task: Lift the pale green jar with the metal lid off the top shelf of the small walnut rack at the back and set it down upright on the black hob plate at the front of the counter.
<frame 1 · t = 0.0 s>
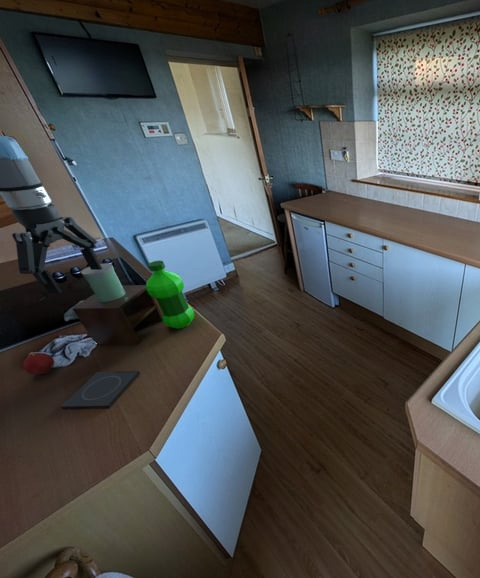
hand: (77, 280, 84), 26 cm above the worktop, tool pointing down, fingers open, 13 cm apart
packaged food: (91, 314, 113), on the worktop
red rounded lump: (46, 373, 87), on the worktop
shelf rack: (132, 331, 104), on the worktop
hob: (103, 390, 82), on the worktop
plastic bottle: (182, 324, 108), on the worktop
jar: (112, 296, 96), point 15 cm above the worktop, touching shelf rack
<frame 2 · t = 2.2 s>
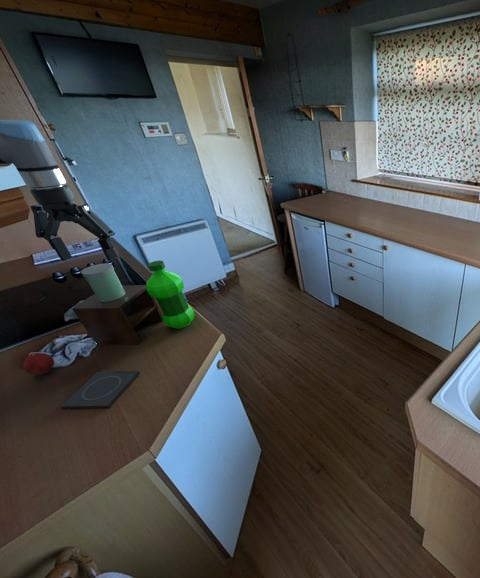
hand: (90, 258, 89), 29 cm above the worktop, tool pointing down, fingers open, 13 cm apart
nothing on the worktop moved.
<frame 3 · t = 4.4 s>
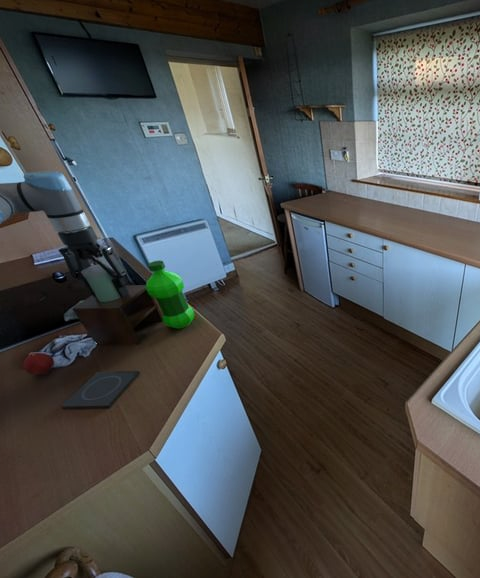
hand: (111, 295, 96), 15 cm above the worktop, tool pointing down, fingers closed on shelf rack, 8 cm apart
nothing on the worktop moved.
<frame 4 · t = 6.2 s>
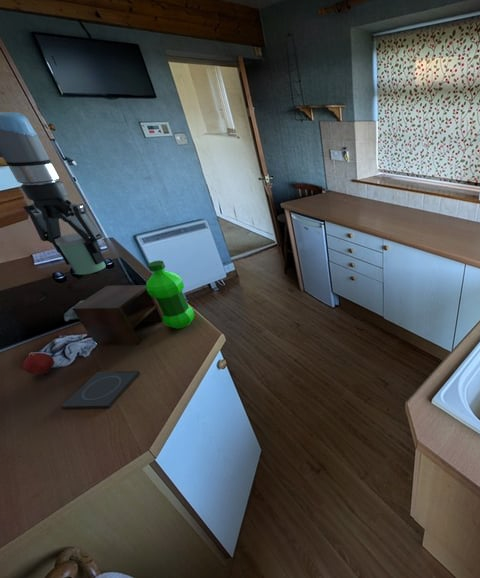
hand: (86, 262, 87), 29 cm above the worktop, tool pointing down, fingers closed on jar, 7 cm apart
jar: (90, 269, 88), point 26 cm above the worktop, touching gripper
everything else where it was.
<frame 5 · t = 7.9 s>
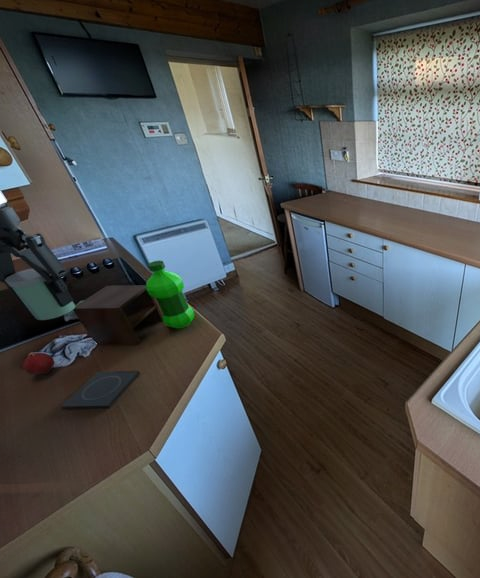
hand: (49, 303, 69), 28 cm above the worktop, tool pointing down, fingers closed on jar, 7 cm apart
jar: (55, 311, 70), point 26 cm above the worktop, touching gripper
everything else where it was.
when the fingers open (3 cm above the worktop, at t = 11.7 s): jar stays where it is, resting on hob.
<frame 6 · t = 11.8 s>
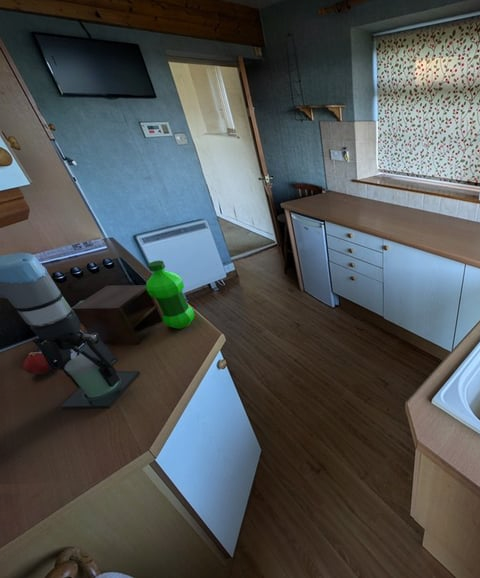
hand: (99, 383, 81), 3 cm above the worktop, tool pointing down, fingers open, 8 cm apart
jar: (102, 387, 82), point 1 cm above the worktop, touching hob
everything else where it was.
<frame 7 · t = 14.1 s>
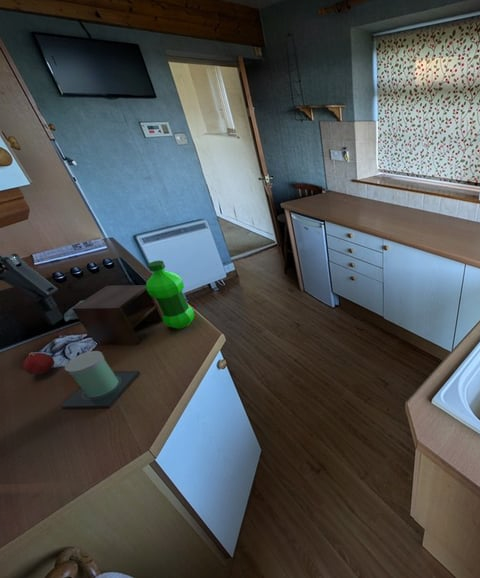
hand: (25, 321, 67), 26 cm above the worktop, tool pointing down, fingers open, 13 cm apart
nothing on the worktop moved.
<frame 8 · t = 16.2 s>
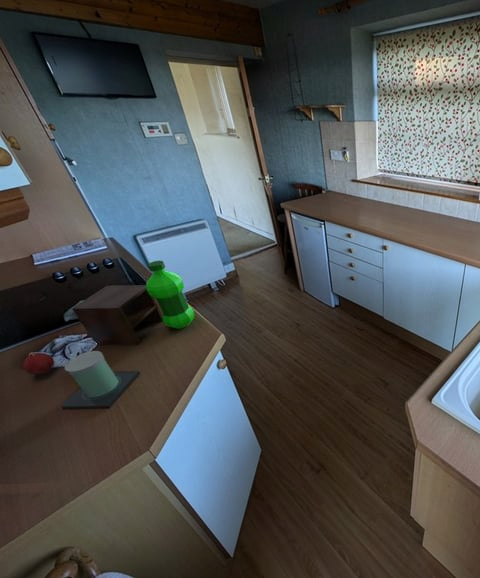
nothing on the worktop moved.
at the end: jar inside the target area on the hob (0.2 cm from its centre), point 1.1 cm above the hob's base; jar tilted 0°; the gripper is holding nothing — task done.
